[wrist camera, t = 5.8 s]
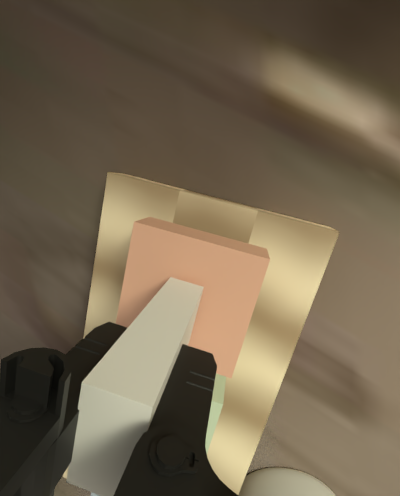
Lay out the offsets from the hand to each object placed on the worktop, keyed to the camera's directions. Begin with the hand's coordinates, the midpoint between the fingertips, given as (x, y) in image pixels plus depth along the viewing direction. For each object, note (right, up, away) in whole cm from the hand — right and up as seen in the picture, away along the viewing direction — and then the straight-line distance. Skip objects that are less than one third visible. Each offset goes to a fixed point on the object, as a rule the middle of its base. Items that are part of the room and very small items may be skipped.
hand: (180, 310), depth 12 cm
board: (-1, -5, +8) cm, 10 cm away
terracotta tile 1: (+1, +1, +4) cm, 5 cm away
